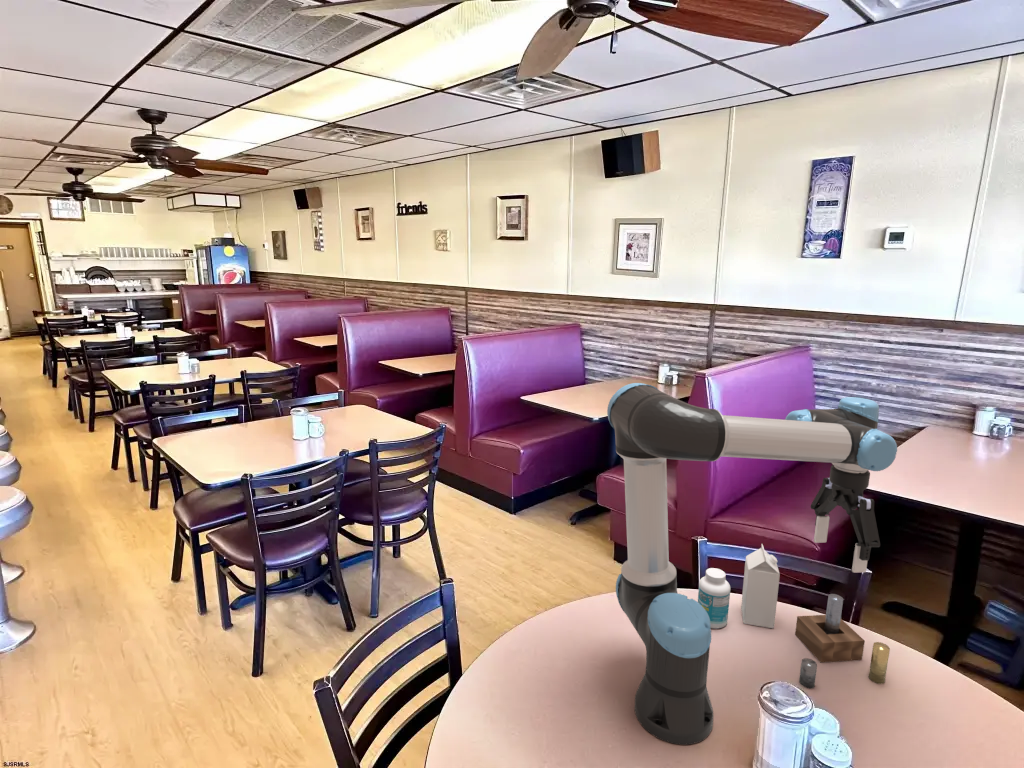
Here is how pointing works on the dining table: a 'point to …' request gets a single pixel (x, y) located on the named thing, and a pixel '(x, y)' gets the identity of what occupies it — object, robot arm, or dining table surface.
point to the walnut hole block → (829, 640)
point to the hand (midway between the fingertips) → (838, 556)
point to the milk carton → (760, 589)
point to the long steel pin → (833, 614)
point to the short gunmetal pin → (808, 673)
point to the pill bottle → (715, 596)
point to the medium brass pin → (879, 662)
